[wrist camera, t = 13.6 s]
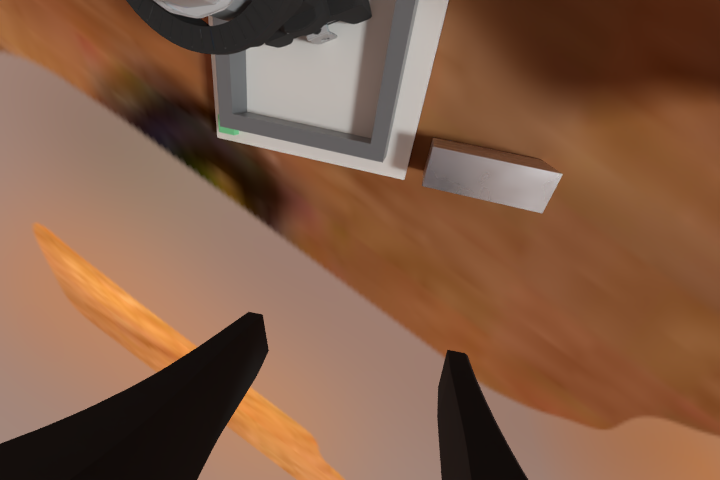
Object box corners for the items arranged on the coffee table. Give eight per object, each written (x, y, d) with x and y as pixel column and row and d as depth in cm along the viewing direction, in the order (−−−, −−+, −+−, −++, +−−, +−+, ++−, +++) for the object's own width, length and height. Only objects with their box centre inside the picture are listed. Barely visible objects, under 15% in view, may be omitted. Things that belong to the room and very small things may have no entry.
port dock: (493, -180, 11) (507, -244, 9) (405, 175, 18) (401, 187, 16) (206, -206, 12) (159, -267, 10) (226, 135, 19) (201, 141, 17)
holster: (683, -141, 11) (764, -214, 8) (525, 193, 17) (542, 213, 14) (514, -158, 11) (539, -230, 9) (423, 171, 18) (422, 185, 15)
